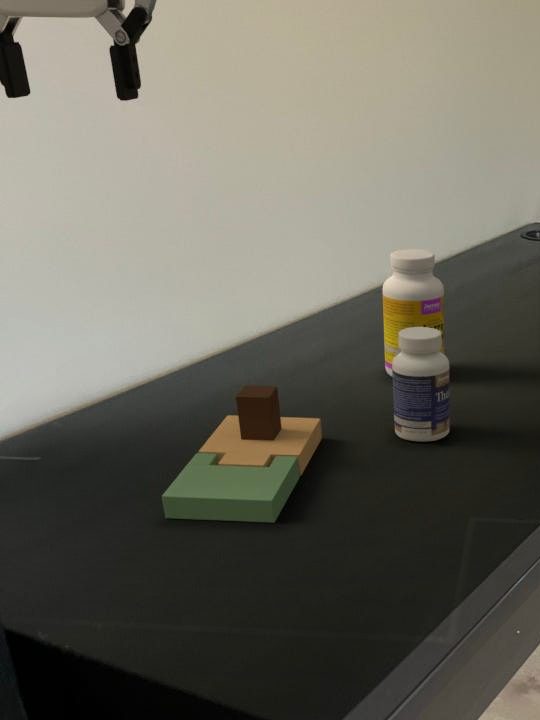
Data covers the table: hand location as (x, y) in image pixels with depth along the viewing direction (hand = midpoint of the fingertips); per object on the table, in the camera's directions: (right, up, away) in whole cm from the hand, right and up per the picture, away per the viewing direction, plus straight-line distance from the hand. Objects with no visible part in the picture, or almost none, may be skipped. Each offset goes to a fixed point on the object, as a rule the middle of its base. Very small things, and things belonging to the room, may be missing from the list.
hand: (73, 97), depth 85 cm
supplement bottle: (+28, -17, +27) cm, 42 cm away
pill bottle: (+29, -27, +11) cm, 41 cm away
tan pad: (+15, -30, +6) cm, 34 cm away
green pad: (+14, -34, -1) cm, 37 cm away
